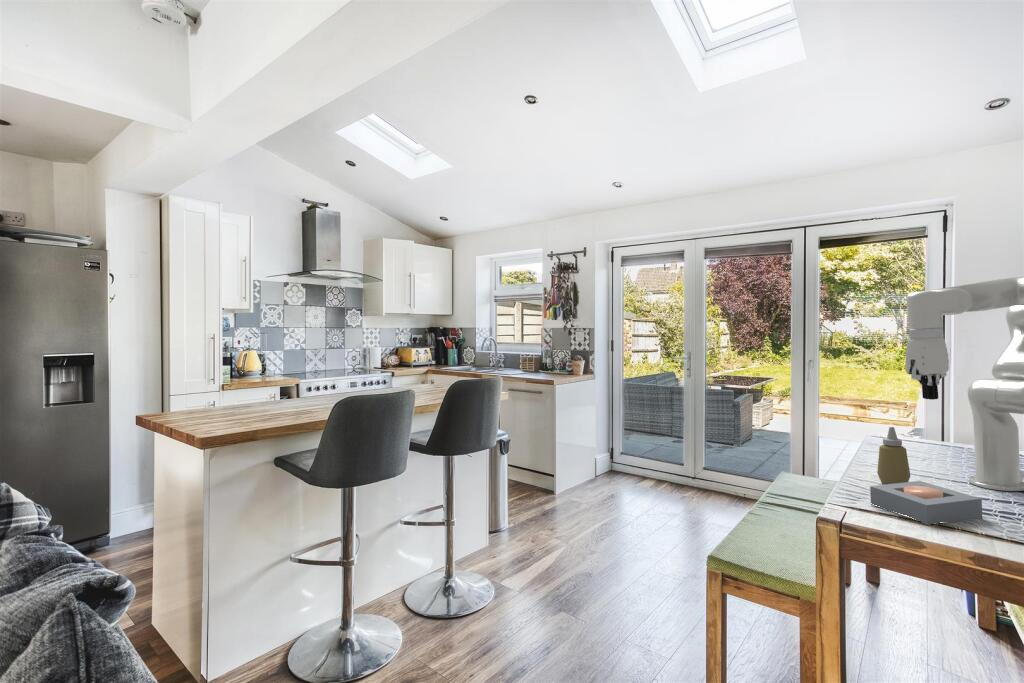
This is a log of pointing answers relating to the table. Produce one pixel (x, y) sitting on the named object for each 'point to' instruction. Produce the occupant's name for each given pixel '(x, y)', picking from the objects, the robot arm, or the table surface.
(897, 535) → the table surface
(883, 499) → the button base
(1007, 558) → the table surface
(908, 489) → the button
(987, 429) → the robot arm
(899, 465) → the squeeze bottle
